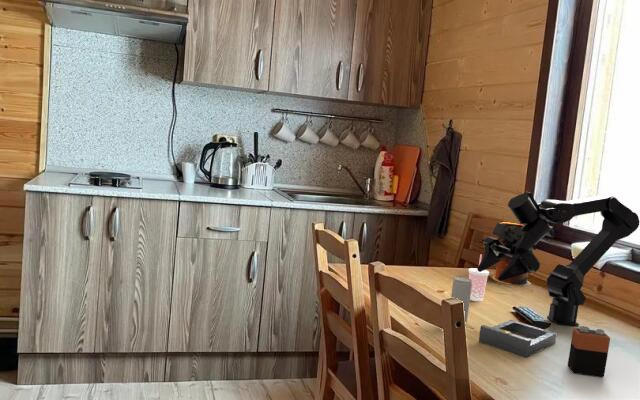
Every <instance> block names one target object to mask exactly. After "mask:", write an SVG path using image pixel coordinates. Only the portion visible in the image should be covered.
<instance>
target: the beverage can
mask: <svg viewBox="0 0 640 400" xmlns="http://www.w3.org/2000/svg"><path fill="white" fill-rule="evenodd" d="M471 288H472V280H471V279H469V277H463V276H462V277H461V276H455V277H454V278H453V280H452V287H451V294H450V295H451V296H450V298H451V297H455V298H458V299H459V300H461V301H463V303H464V311H465V322H466V325H467V323H468V316H469V310H470V303H471V300H470V296H471Z"/></svg>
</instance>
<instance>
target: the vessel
mask: <svg viewBox="0 0 640 400" xmlns="http://www.w3.org/2000/svg"><path fill="white" fill-rule="evenodd" d="M500 223H501V224H504V225H507V226H510V227H512V226H513V225H515V226H518V227H519V228H521V227H522V226H523V225H524V224H521V223H513V222H506V221H503V222H500ZM497 237H498V238H497V239H498V240H499V241H500V243H501V244H502V246H503V247H504V244H503V243H502V241H501V240H502V238H500V237H499V236H497ZM530 251H532V252H533V250H532V249H531V250H530ZM511 260H512V257H509V256H507V255H505V256H504V257H503V258H501V259H500V262H498V263H496V268H495V274H492V275H490V276H489V277H490V279H493V280H494V281H496V282H498V283H502V284H506V285H507V284H508V285H517V286H529V285H531V284H532V283H531V282H530V281H528V278H529V273H526V274H522V275H518V276H515V277H512V278H509V279H506V280H503V281H499V280H498V277H499V275H500V274H501V273H502V272H503V271H504V269H505V268H506V267H507V266H508V265H509V264H510V263H511Z"/></svg>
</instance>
